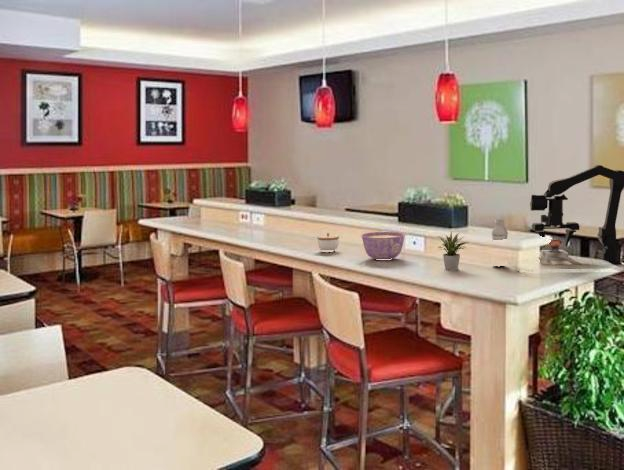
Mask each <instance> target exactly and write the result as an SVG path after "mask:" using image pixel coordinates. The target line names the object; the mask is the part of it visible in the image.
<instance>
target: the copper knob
mask: <svg viewBox="0 0 624 470" xmlns="http://www.w3.org/2000/svg"><path fill="white" fill-rule="evenodd" d="M550 240H551V242H550V243H549V244H548V243H547V246H548V247H550V250H551V253H556V252H559V250H560V249H559V248H560V247H562V246H563V240H562V239H556V238H555V239H550Z"/></svg>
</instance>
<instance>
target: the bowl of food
mask: <svg viewBox="0 0 624 470" xmlns="http://www.w3.org/2000/svg"><path fill="white" fill-rule="evenodd" d="M405 236H406V234H405V233H403V232H398V231H397V232H396V231H373V232H372V231H371V232H367V233H362V234H361V239H362V244H363V247H364V250H365V253H366V254H367V256H368V257H370V258H371V259H374V260H375V259H391V258H392V259H394V258H397V257H399V256H400V254H401V252H402V250H403V245H404V240H405Z"/></svg>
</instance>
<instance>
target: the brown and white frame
mask: <svg viewBox="0 0 624 470" xmlns="http://www.w3.org/2000/svg"><path fill="white" fill-rule="evenodd" d="M540 252H541V253H540V256H541V257H539V258H540V263H539V264H541V265H543V266H583V265H584V264H583V263H582V262H580V261H577V260H576V259H574V258H572V257H570V256H569V252H567V251H566V250H564V249H559V252H556V253H551V249H541V251H540ZM563 269H570V267H568V268H566V267H565V268H564V267H563V268H562V270H563Z"/></svg>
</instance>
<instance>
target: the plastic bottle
mask: <svg viewBox="0 0 624 470" xmlns="http://www.w3.org/2000/svg"><path fill="white" fill-rule="evenodd" d="M494 225H495V226H494V227H493V229H492V230H491V238H492V239H493V240H503V239H507V240H508V230H507V228H506V227H505V220H504V219H495V220H494ZM493 240H492V241H493Z"/></svg>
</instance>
